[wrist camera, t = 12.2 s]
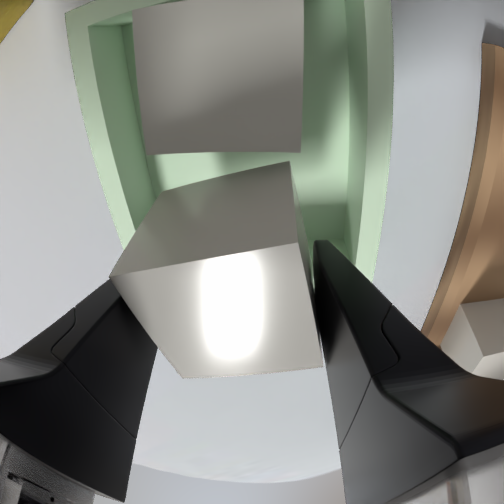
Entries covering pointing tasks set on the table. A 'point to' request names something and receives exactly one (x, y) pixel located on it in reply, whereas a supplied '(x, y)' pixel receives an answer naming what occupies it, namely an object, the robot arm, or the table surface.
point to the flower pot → (11, 14)
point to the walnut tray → (477, 212)
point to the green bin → (222, 163)
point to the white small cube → (225, 276)
